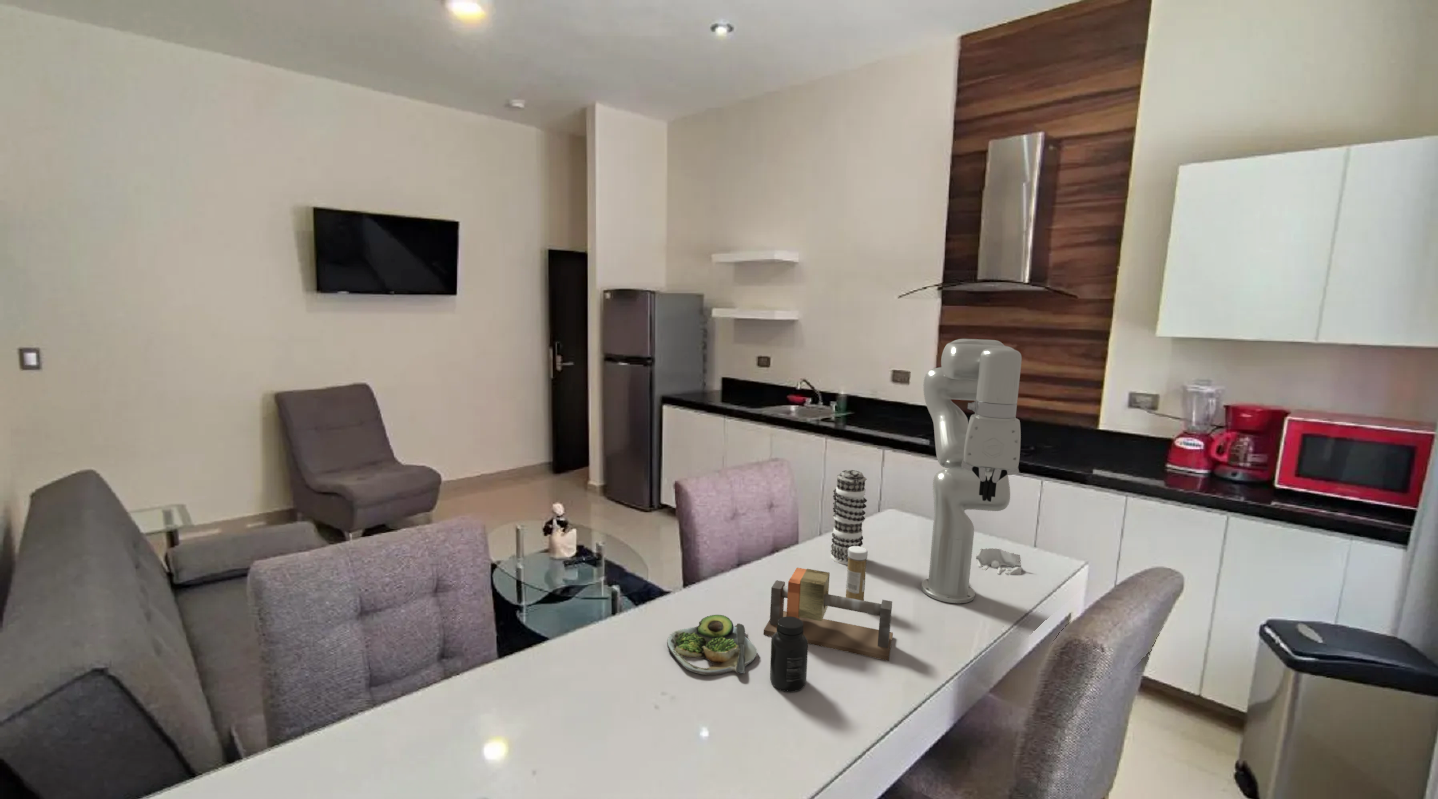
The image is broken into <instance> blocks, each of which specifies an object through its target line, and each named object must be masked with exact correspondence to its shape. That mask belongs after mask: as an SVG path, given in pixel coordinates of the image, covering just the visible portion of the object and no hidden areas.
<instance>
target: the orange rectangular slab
mask: <svg viewBox="0 0 1438 799" xmlns="http://www.w3.org/2000/svg"><path fill="white" fill-rule="evenodd" d="M807 569H808V568H802V567H796V568H795V570H794V572H793V573H792V574H791V577H790V578H789V580H788V582H787V587H788V596H787V598H786V599H787V600H786V611H787V615H786V617H787V616H788V617H796V618H798V619H799V618H800V617H798V611H799V593H800V580H801V579H802V577H803V575H804V573H805V571H806V570H807Z"/></svg>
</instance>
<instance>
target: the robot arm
mask: <svg viewBox="0 0 1438 799" xmlns="http://www.w3.org/2000/svg"><path fill="white" fill-rule="evenodd" d="M940 358H941V360H940V365H941V366H939V367H935V368H932V369H930V370H928V371H927V372H926V373H925V375H924V378H923V387H922V388H923V398H924V401H925V405H926V408H927V410H928V413H929V414H930V417H931V419H932V422H933V430H934V431H933V432H934V444H935V454H936V460H937V462H938V464H939V465H940V466H941V467H943V468H946V469H942V470H939V471H938V472H937V473H936V474H935V475H934V477H933V479H932V480H933V481H932V490H933V491H932V494H933V495H932V496H933V521H932V522H933V524H932V535H931V546H930V560H929V570H928V578H926V579H924V580H922V582H921V591H922V592H923V593H925V595H926V596H929V597H930V598H932V599H935V600H938V601H939V602H944V603H951V604H965V603H970V602H972V601H973V600H975V595H976V594H975V593H976V592H975V590H974V588H972V586H970V578H971V577H970V576H971V568H972V566H971V565H972V558H973V548H974V547H973V546H974V539H975V538H974V536H975V526H974V522H972V519H971V518H970V517H969V516H968V515H967V513H966V512H965V511H967V510H969V511H970V510H974V511H987V512H989V511H990V512H991V511H992V512H1001V511H1004V510H1005V509H1007V508H1008V506H1009V504H1010V502H1011V486H1010V480H1009V478H1010V477H1009V476H1012V475H1018V474H1020V470H1019V463H1020V457H1021V455H1020V454H1021V440H1022V438H1021V437H1022V436H1021V435H1022V434H1021V433H1022V432H1021V422H1020V419H1018V418H1016V416H1017V409H1018V408H1017V407H1018V397H1019V388H1020V377H1021V369H1022V361H1023V360H1022V354H1021V352H1020V351H1019V350H1017V349H1015V348H1013V347H1011V346H1008V345H1004V343H1002V341H999V340H997V339H996V340H995V339H982V338H981V339H980V338H979V339H977V338H958V339H955V340H952V341H951V342H948V343H946V345H945V347H944V348H943V350H942V353H941V357H940ZM952 400H957V401H958V400H960V401H972V402H967V410H971V411H973V412H974V413H973V414H971V415H970V417H969V419H968V417H967V415H966V414H965V412H964V411H963V410H962V409H961V408H960V406H958V405H957V404H956V403H954V402H953V401H952Z"/></svg>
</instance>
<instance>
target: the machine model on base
mask: <svg viewBox="0 0 1438 799" xmlns="http://www.w3.org/2000/svg"><path fill="white" fill-rule="evenodd" d="M770 590H771V591H770V608H769V614H770V615H769V621H768V622H767V623H766V625H765V627H764V629H763V635H766V636H771V637H772V636H773V635H774V634H775V633H776V632H777V622H778V619H780V618H782V617H786V615H787V610H786V611H785V610H784V606H785V599H787V596H788V585H787V586H786V581H782V580H775V581H774V583H773V584H772V586H771V589H770ZM824 605H825V606H828V607H831V608H837V609H840V610H841V609H843V610H847V611H852V612H856V613H863V614H867V615H874V616H878V617H879V622H878V629H876V628H872V627H866V626H862V625H861V626H860V625H858V624H857V625H856V624H852V623H846V622H840V621H836V620H831V619H826V618H823V619H822V621H817V620H812V619H807V618H802V617H800V618H799V619H800V620H801V621H802V622H803V634H804V635H805V637H806V638H807V640H808V645H812V646H818V647H821V648H822V647H823V648H826V649H831V650H837V651H839V652H840V651H841V652H846V653H848V654H849V653H850V654H854V655H860V656H864V657H869V658H875V659H878V660H882V661H888V662H889V659H890V655H891V654H890V653H891V648H892V642H893V635H894V633H893V632H892V631H891V620H892V608H893V600H886V599H882V600H881V603H877V602H872V601H867V600H864V601H862V600H857V599H851V598H846V596H839V595H834V594H831V593H830V594H829V593H828V594H825V596H824Z"/></svg>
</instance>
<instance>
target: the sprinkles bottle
mask: <svg viewBox="0 0 1438 799" xmlns="http://www.w3.org/2000/svg"><path fill="white" fill-rule="evenodd" d="M868 555H869V554H868V549H867V548H865V547H863V546H861V547H860V546H851V547H849V548H848V565H847V568H846V581H845V582H846V584H845V589H846V591H845V597H846V598H851V599H857V600H862V601H865V590H866V571H867V569H866V568H867V561H868Z"/></svg>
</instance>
